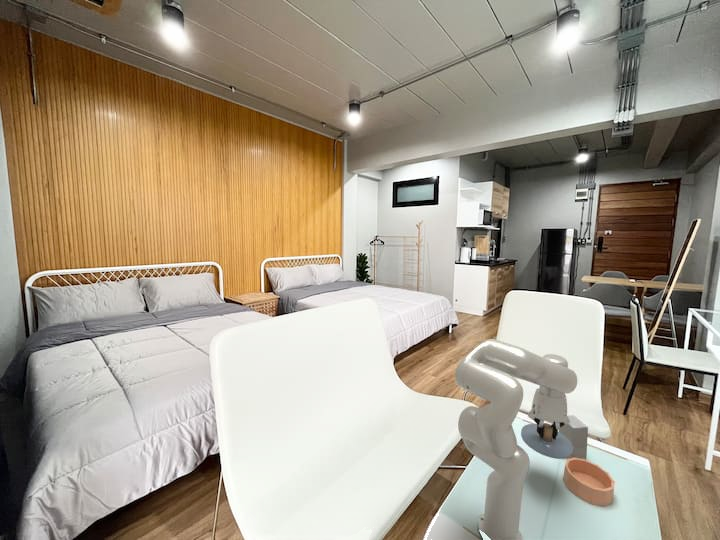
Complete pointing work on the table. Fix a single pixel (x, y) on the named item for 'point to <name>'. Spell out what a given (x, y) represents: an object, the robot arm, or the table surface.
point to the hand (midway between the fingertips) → (546, 435)
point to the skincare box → (576, 437)
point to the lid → (547, 442)
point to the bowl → (589, 481)
